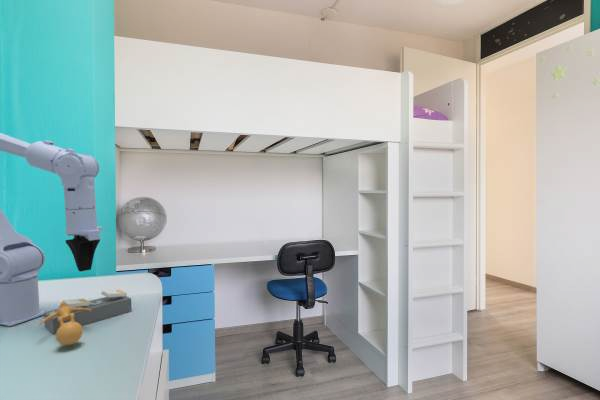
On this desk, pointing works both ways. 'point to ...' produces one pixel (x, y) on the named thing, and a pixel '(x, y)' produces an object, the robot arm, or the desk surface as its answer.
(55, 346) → the desk surface
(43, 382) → the desk surface
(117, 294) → the far rocker
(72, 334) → the figurine
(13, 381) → the desk surface
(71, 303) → the near rocker
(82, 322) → the power strip
